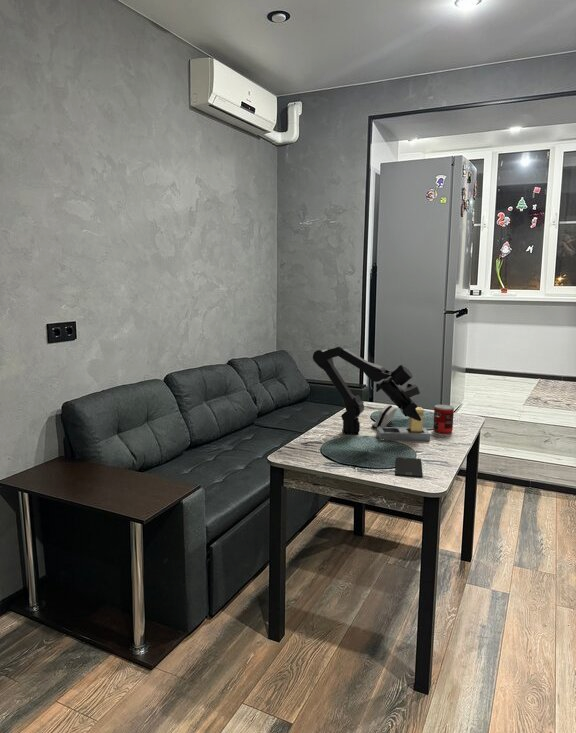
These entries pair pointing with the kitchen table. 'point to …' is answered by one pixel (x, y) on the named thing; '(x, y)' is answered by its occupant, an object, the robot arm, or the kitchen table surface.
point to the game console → (385, 416)
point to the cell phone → (408, 467)
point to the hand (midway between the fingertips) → (419, 418)
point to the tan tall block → (416, 422)
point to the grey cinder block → (402, 434)
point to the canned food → (443, 419)
